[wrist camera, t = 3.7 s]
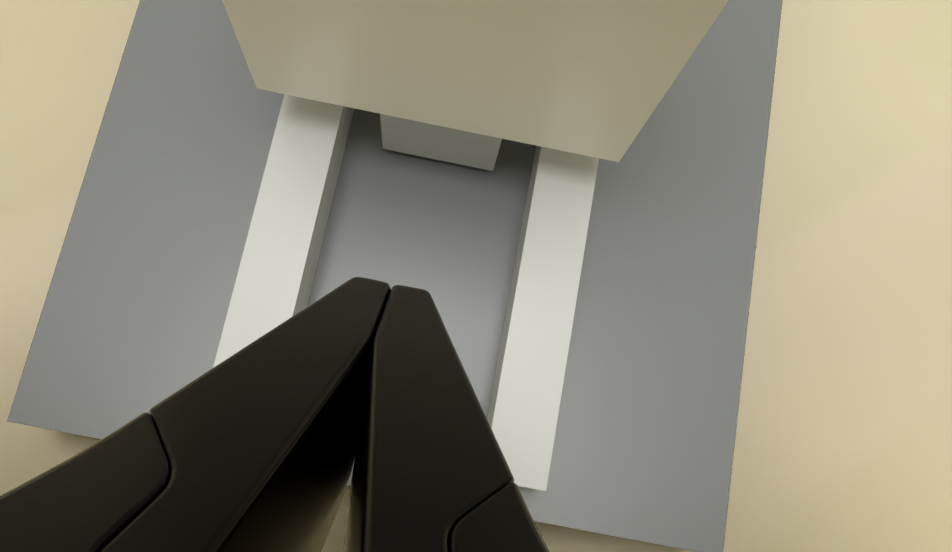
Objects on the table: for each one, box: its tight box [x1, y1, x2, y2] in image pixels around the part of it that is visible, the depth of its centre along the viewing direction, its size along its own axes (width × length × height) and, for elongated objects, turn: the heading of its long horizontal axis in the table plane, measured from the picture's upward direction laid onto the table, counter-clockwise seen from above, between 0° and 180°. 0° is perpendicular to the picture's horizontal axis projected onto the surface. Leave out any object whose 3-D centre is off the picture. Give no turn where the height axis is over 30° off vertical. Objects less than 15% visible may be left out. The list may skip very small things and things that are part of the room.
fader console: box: [7, 0, 782, 552], centre depth 16 cm, size 16×12×3 cm
